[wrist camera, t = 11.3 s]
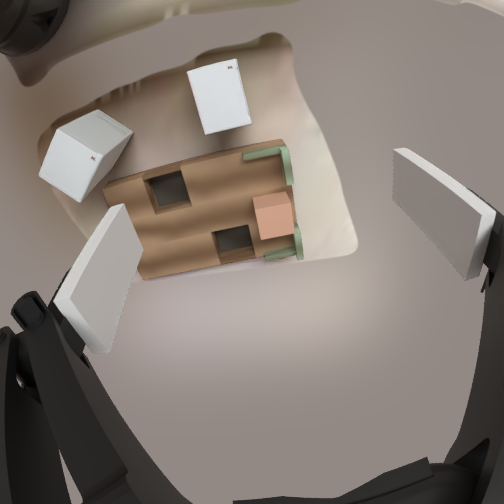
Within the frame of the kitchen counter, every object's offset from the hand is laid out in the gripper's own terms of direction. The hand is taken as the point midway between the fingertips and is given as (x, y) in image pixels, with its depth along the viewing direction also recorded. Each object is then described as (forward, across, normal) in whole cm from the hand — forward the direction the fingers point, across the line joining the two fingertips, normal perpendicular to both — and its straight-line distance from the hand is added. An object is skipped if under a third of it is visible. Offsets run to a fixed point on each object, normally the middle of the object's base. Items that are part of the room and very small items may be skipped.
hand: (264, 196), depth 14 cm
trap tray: (+32, -9, -15) cm, 36 cm away
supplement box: (+32, -21, +1) cm, 38 cm away
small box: (+32, -2, +3) cm, 32 cm away
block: (+29, +2, -16) cm, 33 cm away
